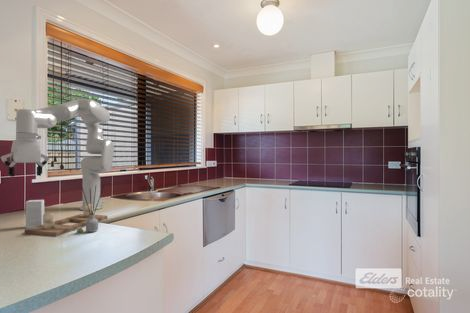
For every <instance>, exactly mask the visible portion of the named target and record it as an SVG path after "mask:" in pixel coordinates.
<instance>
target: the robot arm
mask: <svg viewBox="0 0 470 313" xmlns="http://www.w3.org/2000/svg"><path fill="white" fill-rule="evenodd" d="M78 116H80V119H81V120H82V122H83V123H84V125H85V127H86V129H87V136H86V141H85V142H86V144H85V151H86V152H87V154H89V155H90V156H89V155H88V156H85V157H83V158H82V159H81V160H80V169H81V176H82V187H83V190H82V206H80V207H79V210H80V211H84V205H85V204H87V203H88V204H93V203H94V209H93V211H95V209H96V210H101V209H103V208H104V205H102V204H104V203H106V200H105V199H101V196H100V194H101V177H100V175H99V173H108V172H110V171H111V170H112V166H113V161H114V154H115V153H114V152H115V151H114V150H115V145H114V143H113V141H112V140H111V139H109V138H104V130H103V128H102V126H101V125H100V124H106V123H108V122H109V121H110V119H111V114H110V112H109V110H108V109H107V108H105V107H104V106H103V105H102V104H101V103H99V102H97V101H96V100H94V99H92V98H77V99H73V100H70V101H67V102H64V103H63V102H62V103H61V104H55V105H51V106H48V107H43V108H38V109H34V110H33V109H29V108H28V109H26V108H20V109H17V110H16V120H15V127H16V128H15V139H13V140H12V144H11V149H10V153H8V154H5V155H1V157H0V159H1V161H2V162H3V164H4V165H5V166H7V167H8V175H9V176H10V177H13V178H14V177H15V165H16V164H18V163H21V164H22V163H23V164H24V163H25V164H29V163H30V164H31V163H32V164H33V163H35V164H36V165H37V167H36V176H42V174H43V167H44V166H45V165H46V164H47V163H48V161H49V160H50V157H49V156H47V155H45V154H43V153H41V152H42V151H41V145H40V141H39V140H40V139H42V135H39V134H38V129H51V128H54V127H55V126H56V125H57V123H58V122H63V121H65V122H66V121H69V120H71V119H74V118H76V117H78ZM93 155H95V156H93ZM96 155H97V156H96ZM98 155H100V156H98ZM7 158H10V162H9V161H8V159H7ZM41 159H43V161H42V160H41ZM41 161H42V162H41ZM95 187H96V193H95ZM83 191H84V193H83ZM90 191H91V202H90ZM84 194H85V196H84ZM94 195H95V201H94ZM85 197H86V199H85ZM99 197H100V199H99ZM86 200H87V203H86ZM98 200H99V202H98ZM97 203H98V205H97ZM96 206H97V208H96Z"/></svg>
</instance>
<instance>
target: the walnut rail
mask: <svg viewBox="0 0 470 313" xmlns="http://www.w3.org/2000/svg"><path fill="white" fill-rule="evenodd" d="M88 207H89V209H88ZM91 207H92V211H93V212H94V210H93V204H88V206H87V204H85V205H84V210H83V213H80V214H76V215H73V216H69V217H65V218H60V219H58V220H56V219H55V217H56V216H55V213H50V212H49V213H44V215H43V225H40V226H36V227H33V228H25V229H24V230H23V231H24V234H27V235H40V236H49V237H59V236H61V235H64V234H68V233H70V232H73V231H77V229H78V228H79V227H81V228H82V229H83V228H84V227H85V228H86V221H87V220H88V219H90V213H91ZM89 210H90V212H89ZM95 219H97V220H98V223H99V222H102V221H105V220H107V219H108V215H104V214H103V215H102V214H101V215H100V214H95ZM68 223H75V224H70V225H67V224H68ZM65 224H66V225H65Z"/></svg>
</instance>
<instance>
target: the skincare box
mask: <svg viewBox="0 0 470 313" xmlns="http://www.w3.org/2000/svg"><path fill="white" fill-rule="evenodd" d="M44 214H45V199H30V200H27V201H25V229H29V228H33V227H36V226H40V225H43V215H44Z"/></svg>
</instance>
